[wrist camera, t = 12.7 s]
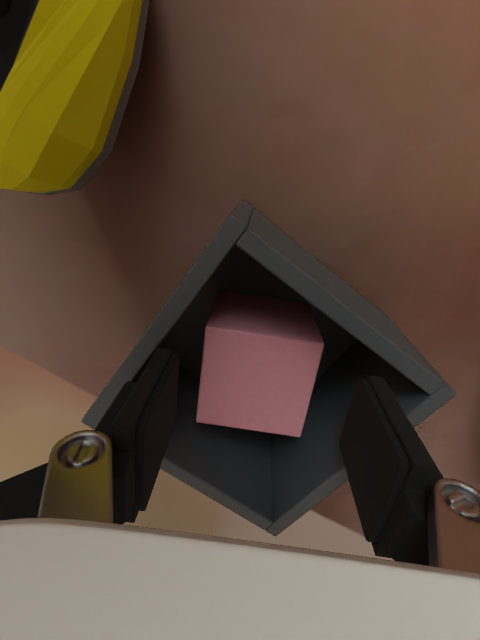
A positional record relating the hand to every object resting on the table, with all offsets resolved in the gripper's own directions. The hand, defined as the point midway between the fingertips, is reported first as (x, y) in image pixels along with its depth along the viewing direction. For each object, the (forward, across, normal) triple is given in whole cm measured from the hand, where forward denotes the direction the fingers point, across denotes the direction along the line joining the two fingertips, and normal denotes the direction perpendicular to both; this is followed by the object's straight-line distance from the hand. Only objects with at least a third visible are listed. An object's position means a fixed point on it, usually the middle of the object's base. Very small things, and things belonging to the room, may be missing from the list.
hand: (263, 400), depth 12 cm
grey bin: (+6, 0, 0) cm, 6 cm away
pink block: (+6, 0, 0) cm, 6 cm away
